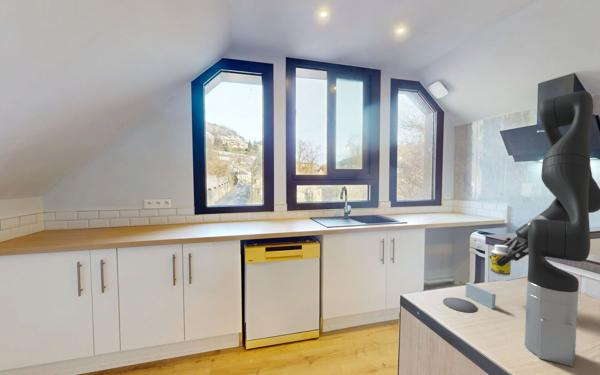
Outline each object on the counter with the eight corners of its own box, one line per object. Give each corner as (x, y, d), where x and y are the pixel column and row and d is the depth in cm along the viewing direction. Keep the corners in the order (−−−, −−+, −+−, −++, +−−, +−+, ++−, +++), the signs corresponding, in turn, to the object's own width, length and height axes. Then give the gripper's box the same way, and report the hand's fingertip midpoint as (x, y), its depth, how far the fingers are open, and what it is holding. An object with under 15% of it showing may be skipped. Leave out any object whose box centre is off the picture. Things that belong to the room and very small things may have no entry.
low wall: (495, 308, 88) (495, 293, 88) (491, 309, 88) (492, 294, 88) (468, 295, 98) (469, 282, 98) (465, 296, 98) (466, 282, 97)
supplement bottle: (487, 272, 97) (487, 244, 96) (498, 270, 98) (499, 243, 98) (502, 277, 91) (503, 248, 91) (514, 276, 93) (515, 247, 93)
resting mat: (479, 315, 84) (479, 314, 84) (443, 307, 89) (443, 306, 88) (474, 302, 93) (474, 301, 93) (442, 296, 97) (442, 295, 97)
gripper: (517, 220, 99) (479, 249, 103) (539, 226, 85) (494, 259, 89) (534, 235, 97) (495, 264, 101) (559, 244, 84) (512, 276, 88)
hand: (495, 261), depth 95 cm, fingers closed on supplement bottle, 5 cm apart
